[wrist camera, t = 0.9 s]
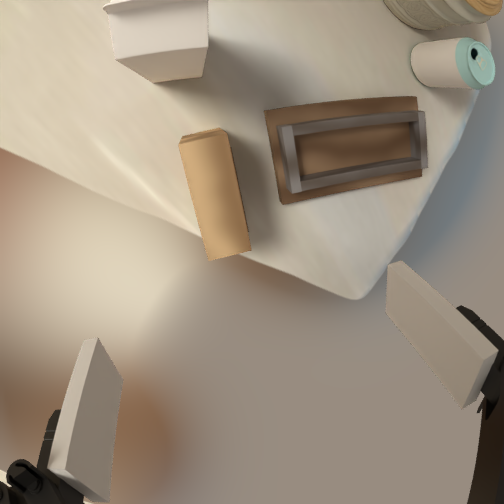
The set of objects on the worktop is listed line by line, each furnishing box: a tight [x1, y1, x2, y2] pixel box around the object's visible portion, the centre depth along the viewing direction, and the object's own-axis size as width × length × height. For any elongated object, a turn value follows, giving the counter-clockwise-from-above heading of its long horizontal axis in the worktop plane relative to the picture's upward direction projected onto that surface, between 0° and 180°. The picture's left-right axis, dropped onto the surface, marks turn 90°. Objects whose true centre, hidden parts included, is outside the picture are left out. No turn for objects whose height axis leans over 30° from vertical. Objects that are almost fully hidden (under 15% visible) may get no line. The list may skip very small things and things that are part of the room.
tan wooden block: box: [179, 128, 251, 261], centre depth 35 cm, size 5×12×10 cm, turn 11°
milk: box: [103, 0, 209, 83], centre depth 22 cm, size 6×6×22 cm
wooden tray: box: [264, 96, 428, 205], centre depth 38 cm, size 12×22×4 cm, turn 101°
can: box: [411, 37, 495, 90], centre depth 31 cm, size 7×7×12 cm
